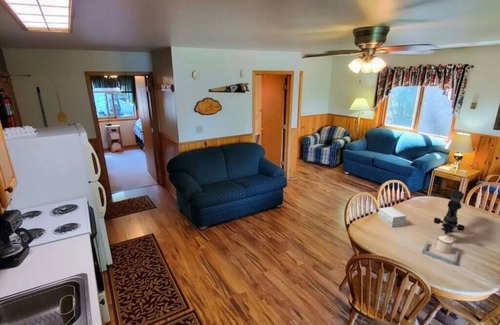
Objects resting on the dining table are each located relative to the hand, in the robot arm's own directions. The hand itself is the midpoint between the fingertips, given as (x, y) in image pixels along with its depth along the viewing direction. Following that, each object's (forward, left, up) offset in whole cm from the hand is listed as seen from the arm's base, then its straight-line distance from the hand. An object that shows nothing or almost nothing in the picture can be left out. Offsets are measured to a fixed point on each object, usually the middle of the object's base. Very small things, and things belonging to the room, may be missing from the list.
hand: (445, 234), depth 201 cm
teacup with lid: (+9, +4, -7) cm, 12 cm away
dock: (+16, +7, -7) cm, 19 cm away
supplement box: (+10, -38, -8) cm, 40 cm away
